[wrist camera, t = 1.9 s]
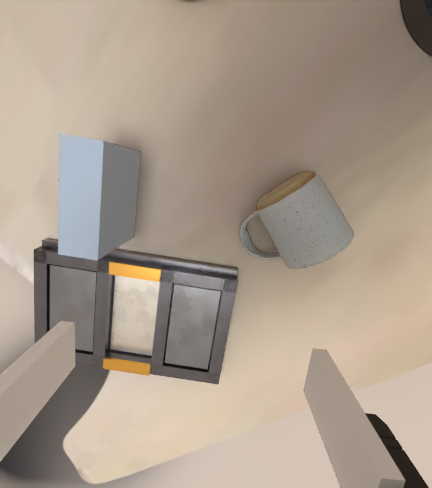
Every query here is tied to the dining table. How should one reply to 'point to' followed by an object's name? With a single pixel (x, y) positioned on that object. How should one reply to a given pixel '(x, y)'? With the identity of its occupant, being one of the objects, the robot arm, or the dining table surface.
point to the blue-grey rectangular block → (96, 196)
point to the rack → (137, 310)
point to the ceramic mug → (300, 222)
